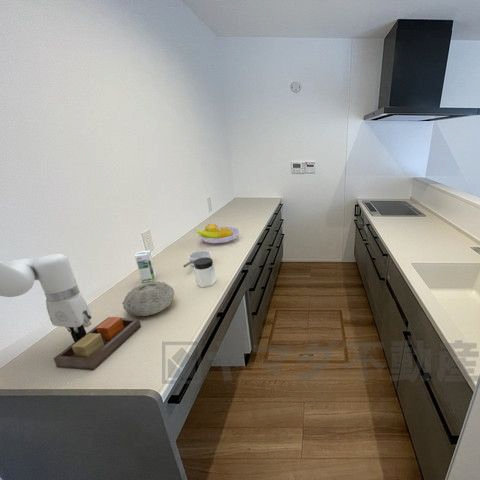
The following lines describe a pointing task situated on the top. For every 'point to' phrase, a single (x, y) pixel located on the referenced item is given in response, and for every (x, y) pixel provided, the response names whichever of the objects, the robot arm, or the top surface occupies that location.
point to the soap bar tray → (97, 344)
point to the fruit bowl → (217, 234)
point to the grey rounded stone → (148, 298)
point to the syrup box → (145, 266)
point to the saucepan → (197, 256)
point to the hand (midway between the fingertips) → (80, 339)
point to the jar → (204, 272)
